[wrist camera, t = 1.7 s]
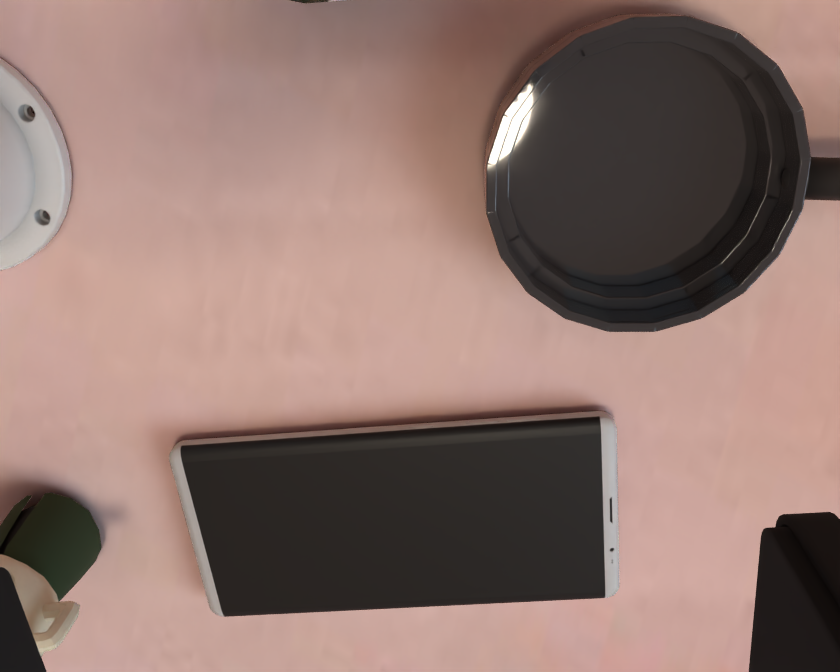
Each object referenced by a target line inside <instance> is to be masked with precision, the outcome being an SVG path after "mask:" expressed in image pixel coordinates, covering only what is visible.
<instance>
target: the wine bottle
mask: <svg viewBox="0 0 840 672" xmlns="http://www.w3.org/2000/svg"><path fill="white" fill-rule="evenodd" d="M291 1H296V2H301V3H316V2H330V1H344V0H291Z"/></svg>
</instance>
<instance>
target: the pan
mask: <svg viewBox="0 0 840 672" xmlns="http://www.w3.org/2000/svg"><path fill="white" fill-rule="evenodd" d="M485 149H486V150H485V206H486V214H487V217H488V220H489V223H490V226H491V229H492V232H493V236H494V239H495V242H496V245H497V248H498V251H499V254H500V256H501V258H502V260H503V261H504V262H505V264H506V265H507V266H508V268H509V269H510V270H511V272H512V273H513V274H514V276H515V277H516V278H517V280H518V281H519V282H520V284H521V285H522V286H523V288H524V289H525V290H526V292H528V294H530V295H531V296H533V297H534V298H536V299H537V300H538V301H540V302H541V303H543V304H544V305H546V306H547V307H549V308H550V309H552V310H553V311H554V312H556V313H557V314H559V315H560V316H562V317H563V318H565V319H568V320H571V321H574V322H578V323H581V324H584V325H588V326H591V327H594V328H598V329H601V330H604V331H609V332H655V331H660V330H663V329H667V328H670V327H674V326H677V325H681V324H684V323H688V322H691V321H695V320H698V319H701V318H703V317H705V316H707V315H708V314H710V313H712V312H713V311H715V310H717V309H718V308H720V307H721V306H723V305H725V304H726V303H728V302H730V301H731V300H733V299H735V298H736V297H738V296H739V295H741V294H743V293H744V292H745V291H746V290H747V289H748V288H749V287H750V286H751V285H752V284H753V283H754V282H755V281H756V280H757V279H758V278H759V277H760V275H761V274H762V273H763V272H764V271H765V270H766V269H767V268H768V267H769V266H770V265H771V264H772V263H773V262H774V260H775V259H776V258H777V257H778V256H779V255H780V253H781V251H782V249H783V247H784V245H785V243H786V241H787V239H788V237H789V235H790V233H791V232H792V230H793V228H794V226H795V224H796V222H797V220H798V218H799V216H800V214H801V212H802V209H803V205H804V199H805V193H806V187H807V181H808V175H809V170H810V164H811V154H810V148H809V142H808V136H807V130H806V124H805V117H804V111H803V108H802V106H801V104H800V103H799V101H798V99H797V97H796V96H795V94H794V92H793V90H792V89H791V87H790V85H789V83H788V82H787V80H786V78H785V76H784V74H783V73H782V71H781V69H780V67H779V66H778V65H777V64H776V63H775V62H774V61H773V60H771V59H770V58H769V57H768V56H767V55H765V54H764V53H763V52H762V51H760V50H759V49H758V48H757V47H755V46H754V45H753V44H752V43H751V42H749V41H748V40H747V39H746V38H744V37H743V36H742V35H741V34H740V33H738V32H736V31H733V30H730V29H727V28H724V27H721V26H718V25H715V24H712V23H709V22H706V21H703V20H700V19H697V18H694V17H691V16H686V15H677V14H667V13H665V14H623V15H616V16H613V17H610V18H607V19H605V20H602V21H599V22H596V23H593V24H591V25H588V26H585V27H582V28H580V29H577V30H574V31H571V32H570V33H568V34H567V35H565V36H564V37H563V38H561V39H560V40H559V41H557V42H556V43H555V44H553V45H552V46H551V47H550V48H548V49H547V50H546V51H544V52H543V53H542V54H540V55H539V56H538V57H536V58H535V59H534V60H533V61H531V62H530V64H528V65H527V67H526V68H525V69H524V71H523V72H522V74H521V75H520V76H519V78H518V79H517V81H516V82H515V83H514V85H513V86H512V88H511V89H510V90H509V92H508V93H507V95H506V96H505V98H504V99H503V100H502V102H501V105H500V106H499V108H498V111H497V114H496V117H495V120H494V123H493V127H492V130H491V133H490V136H489V139H488V142H487V145H486V148H485ZM786 168H787V169H788V170H789V173H790V180H789V184H788V187H787V188H786V189H784V188H783V186H782V181H781V178H782V174H783V171H784V170H785V169H786Z"/></svg>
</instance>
